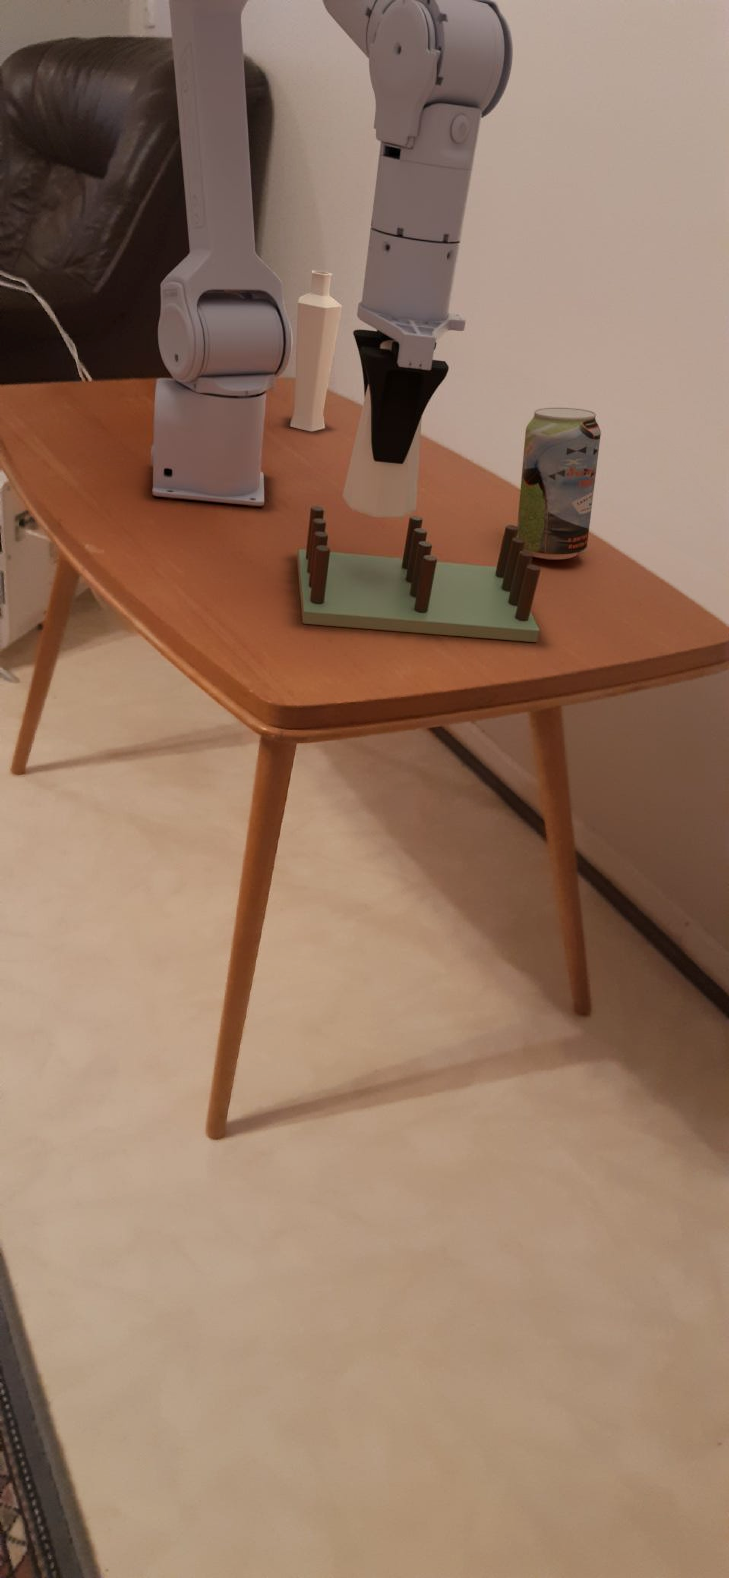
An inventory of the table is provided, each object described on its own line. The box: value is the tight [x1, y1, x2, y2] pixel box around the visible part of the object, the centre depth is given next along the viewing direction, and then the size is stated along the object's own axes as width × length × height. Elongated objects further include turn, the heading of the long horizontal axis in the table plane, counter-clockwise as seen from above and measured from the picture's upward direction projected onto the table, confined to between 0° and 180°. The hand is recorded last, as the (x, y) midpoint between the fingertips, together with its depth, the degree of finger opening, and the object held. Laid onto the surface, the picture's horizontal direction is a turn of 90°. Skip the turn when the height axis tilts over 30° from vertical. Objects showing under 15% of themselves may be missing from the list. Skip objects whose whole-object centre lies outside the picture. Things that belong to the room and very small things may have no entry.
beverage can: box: [516, 407, 602, 560], centre depth 85 cm, size 6×7×12 cm
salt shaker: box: [342, 340, 423, 519], centre depth 71 cm, size 5×5×11 cm
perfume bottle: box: [289, 269, 343, 432], centre depth 106 cm, size 5×4×15 cm
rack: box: [296, 505, 541, 643], centre depth 76 cm, size 17×11×5 cm, turn 95°
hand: (384, 451), depth 72 cm, fingers closed on salt shaker, 4 cm apart
